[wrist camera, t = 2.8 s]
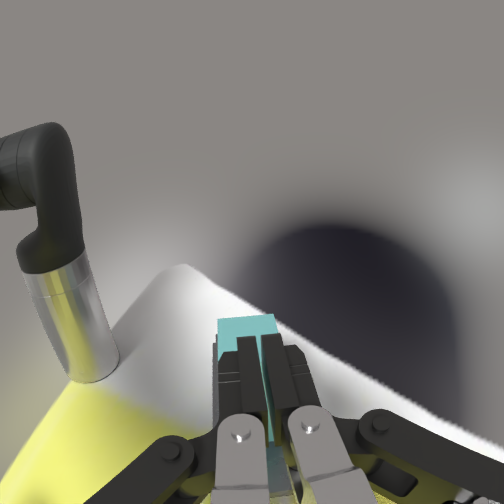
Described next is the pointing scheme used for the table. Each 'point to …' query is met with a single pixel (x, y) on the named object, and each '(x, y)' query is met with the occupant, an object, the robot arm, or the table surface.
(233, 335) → the teal block
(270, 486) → the charcoal chute
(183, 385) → the table surface
